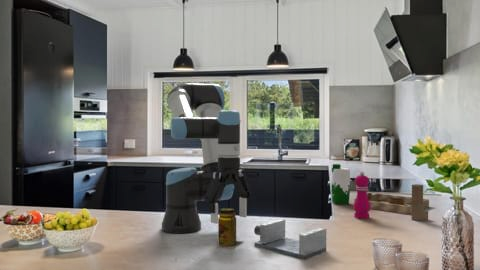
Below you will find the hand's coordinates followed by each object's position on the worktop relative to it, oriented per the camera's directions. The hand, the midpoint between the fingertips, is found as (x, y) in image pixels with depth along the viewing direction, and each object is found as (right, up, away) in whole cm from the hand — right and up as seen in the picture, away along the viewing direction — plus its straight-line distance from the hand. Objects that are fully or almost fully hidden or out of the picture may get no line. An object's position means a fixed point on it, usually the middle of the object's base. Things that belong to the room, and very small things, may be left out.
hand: (229, 219), depth 140 cm
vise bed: (+20, -8, -5) cm, 22 cm away
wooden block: (+80, -8, +37) cm, 89 cm away
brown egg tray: (+79, -7, +66) cm, 103 cm away
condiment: (0, -9, +1) cm, 9 cm away
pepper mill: (+57, -8, +42) cm, 71 cm away
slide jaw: (+13, -7, +2) cm, 14 cm away
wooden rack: (+79, -8, +67) cm, 104 cm away
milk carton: (+55, -7, +75) cm, 93 cm away
